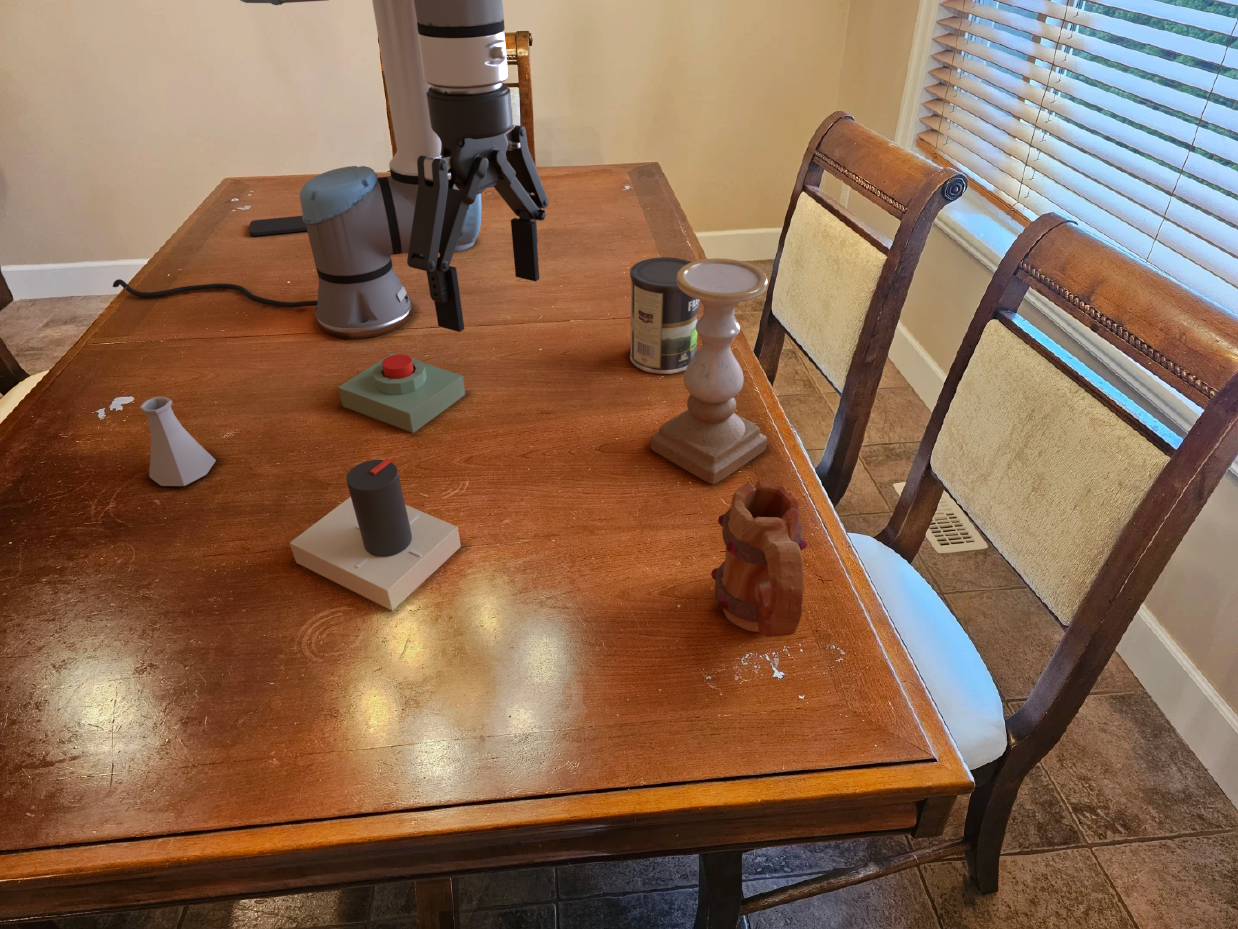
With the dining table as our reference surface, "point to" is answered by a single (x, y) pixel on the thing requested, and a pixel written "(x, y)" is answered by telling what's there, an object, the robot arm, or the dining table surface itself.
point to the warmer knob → (379, 507)
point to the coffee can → (661, 317)
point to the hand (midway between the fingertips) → (491, 301)
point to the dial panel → (380, 579)
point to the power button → (397, 366)
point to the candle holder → (714, 376)
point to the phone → (277, 226)
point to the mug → (762, 560)
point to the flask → (173, 447)
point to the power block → (402, 394)
